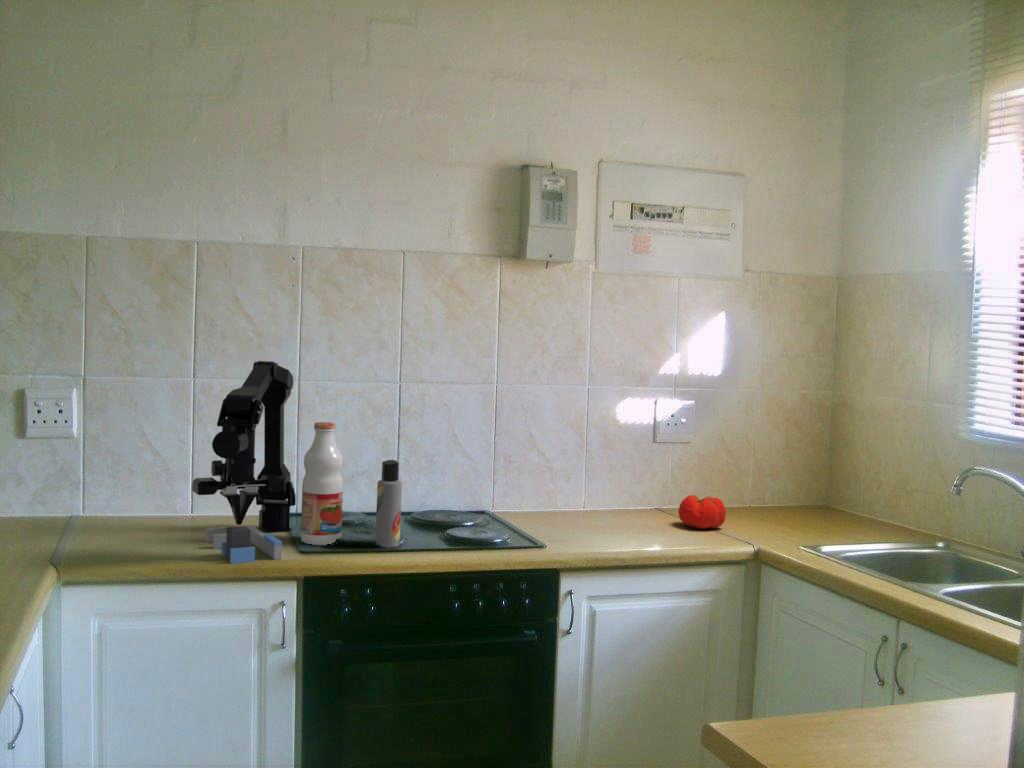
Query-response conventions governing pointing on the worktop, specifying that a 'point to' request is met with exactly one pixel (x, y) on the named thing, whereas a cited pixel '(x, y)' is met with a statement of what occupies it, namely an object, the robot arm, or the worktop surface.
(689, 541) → the worktop surface
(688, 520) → the tomato
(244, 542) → the dark grey rectangular block
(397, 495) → the lotion bottle
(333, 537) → the fruit juice
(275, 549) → the grey and blue blocks
